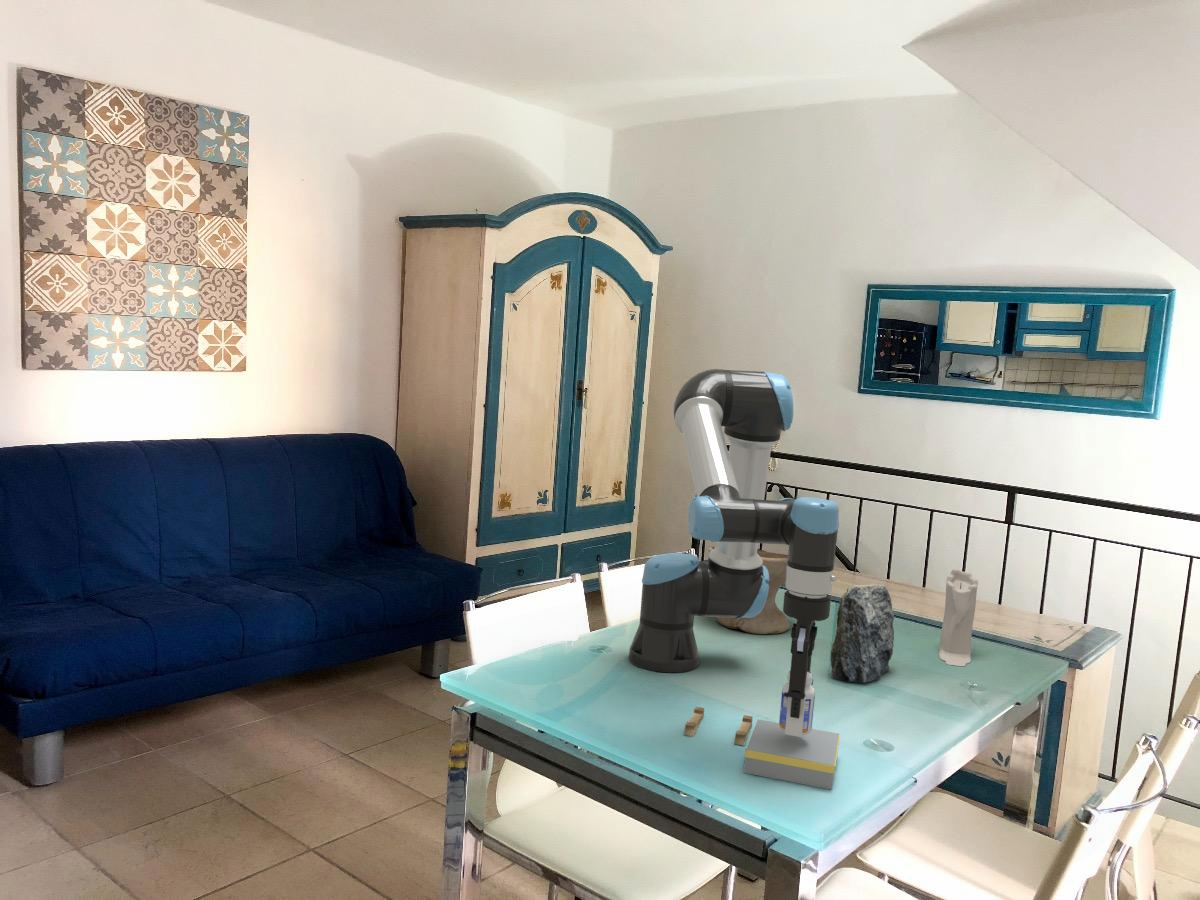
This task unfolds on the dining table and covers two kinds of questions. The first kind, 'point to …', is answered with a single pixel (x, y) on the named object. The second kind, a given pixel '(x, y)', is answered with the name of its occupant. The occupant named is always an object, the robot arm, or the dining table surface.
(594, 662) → the dining table surface
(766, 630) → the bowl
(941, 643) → the candle
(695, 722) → the wooden rail rack
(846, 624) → the stone block
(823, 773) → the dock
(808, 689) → the pill bottle
